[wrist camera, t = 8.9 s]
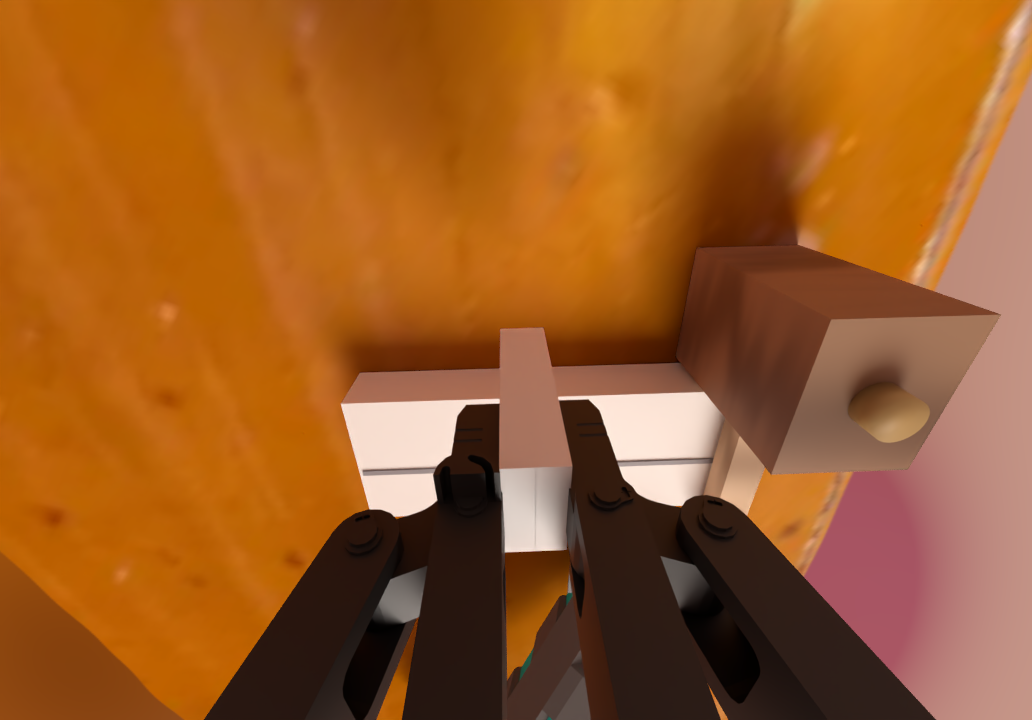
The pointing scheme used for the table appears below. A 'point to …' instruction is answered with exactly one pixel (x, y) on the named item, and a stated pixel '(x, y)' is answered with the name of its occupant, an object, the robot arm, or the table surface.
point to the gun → (551, 672)
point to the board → (611, 388)
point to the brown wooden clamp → (819, 362)
